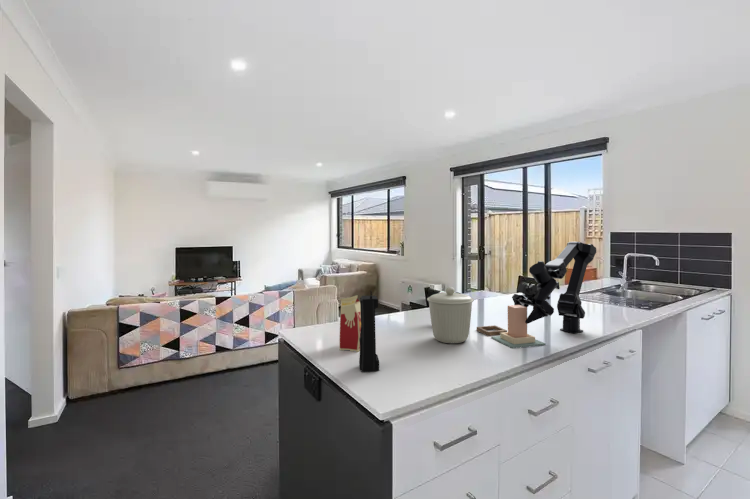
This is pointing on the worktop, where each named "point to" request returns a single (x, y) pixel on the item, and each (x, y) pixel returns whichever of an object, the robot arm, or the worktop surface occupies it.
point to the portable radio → (368, 334)
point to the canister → (450, 316)
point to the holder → (489, 333)
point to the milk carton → (350, 324)
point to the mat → (517, 340)
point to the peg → (517, 321)
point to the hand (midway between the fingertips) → (518, 320)
